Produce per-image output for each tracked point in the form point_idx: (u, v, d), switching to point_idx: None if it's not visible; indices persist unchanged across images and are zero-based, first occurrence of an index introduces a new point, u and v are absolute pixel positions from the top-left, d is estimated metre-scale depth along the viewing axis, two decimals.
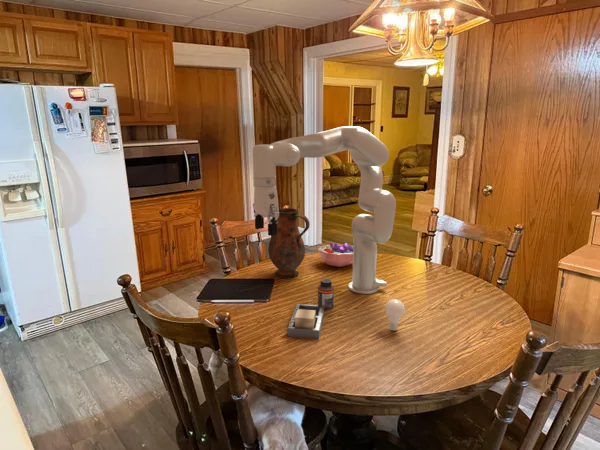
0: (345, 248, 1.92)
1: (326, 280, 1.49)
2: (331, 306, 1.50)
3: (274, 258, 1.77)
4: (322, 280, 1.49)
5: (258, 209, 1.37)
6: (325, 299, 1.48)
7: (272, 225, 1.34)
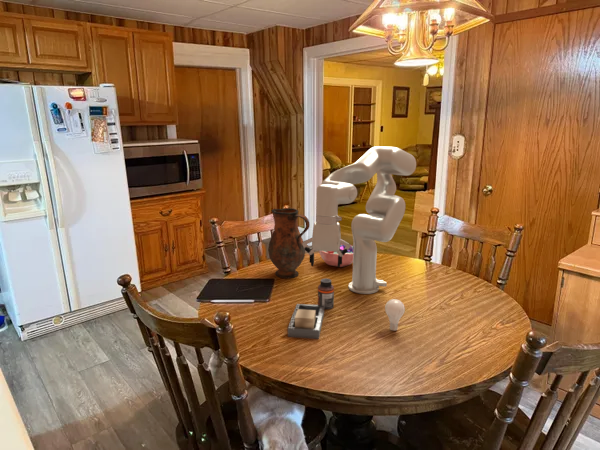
0: None
1: (326, 280, 1.49)
2: (331, 306, 1.50)
3: (274, 258, 1.77)
4: (322, 280, 1.49)
5: (323, 246, 1.44)
6: (325, 299, 1.48)
7: (341, 257, 1.45)
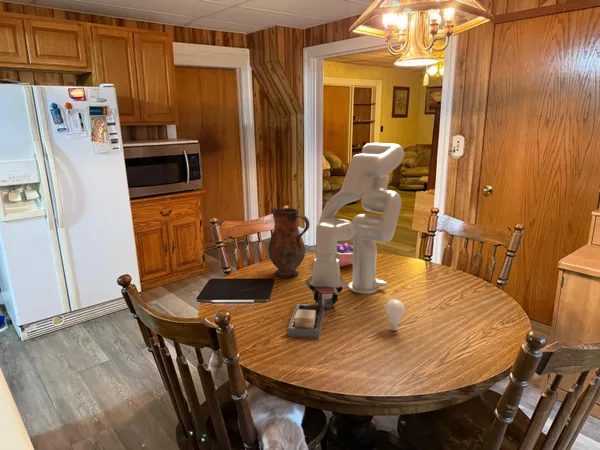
0: (345, 248, 1.92)
1: None
2: (331, 306, 1.50)
3: (274, 258, 1.77)
4: None
5: (323, 282, 1.47)
6: (325, 299, 1.48)
7: (337, 294, 1.49)
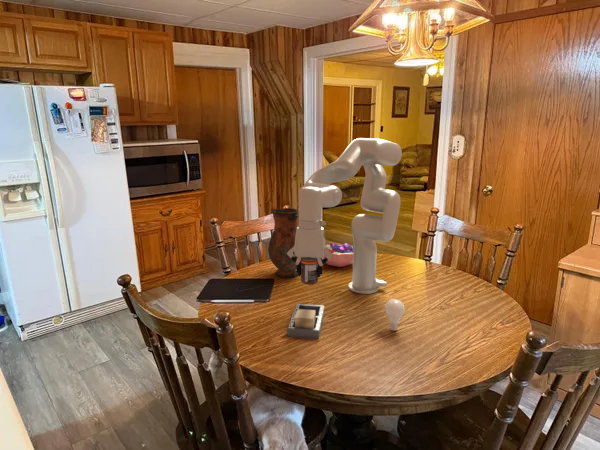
0: (345, 248, 1.92)
1: None
2: (315, 279, 1.37)
3: (274, 258, 1.77)
4: None
5: (306, 252, 1.34)
6: (308, 271, 1.35)
7: (322, 266, 1.37)
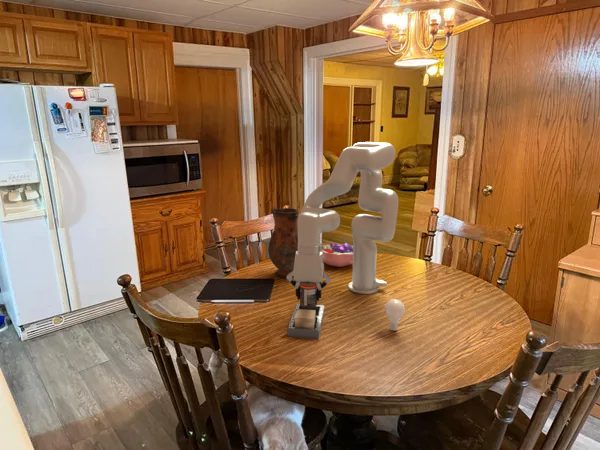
0: (345, 248, 1.92)
1: None
2: (314, 303, 1.38)
3: (274, 258, 1.77)
4: None
5: (305, 277, 1.36)
6: (307, 295, 1.37)
7: (320, 290, 1.38)
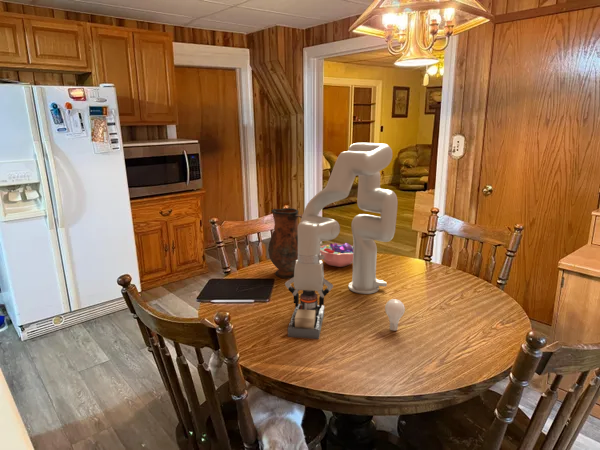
0: (345, 248, 1.92)
1: None
2: None
3: (274, 258, 1.77)
4: None
5: (305, 285, 1.37)
6: (308, 308, 1.38)
7: (323, 297, 1.39)
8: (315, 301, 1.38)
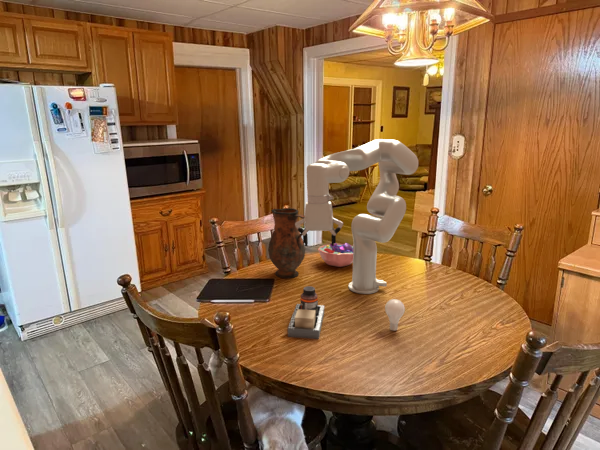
0: (345, 248, 1.92)
1: (309, 288, 1.39)
2: None
3: (274, 258, 1.77)
4: (305, 288, 1.39)
5: (316, 225, 1.43)
6: (308, 308, 1.38)
7: (335, 236, 1.46)
8: (315, 301, 1.39)
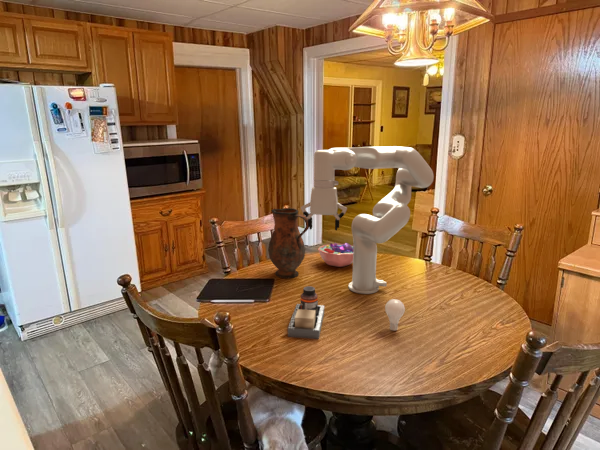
0: (345, 248, 1.92)
1: (309, 288, 1.39)
2: None
3: (274, 258, 1.77)
4: (305, 288, 1.39)
5: (321, 209, 1.50)
6: (308, 308, 1.38)
7: None
8: (315, 301, 1.39)
